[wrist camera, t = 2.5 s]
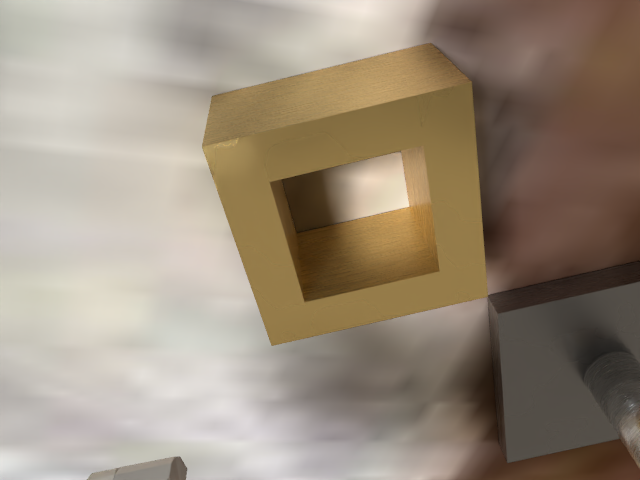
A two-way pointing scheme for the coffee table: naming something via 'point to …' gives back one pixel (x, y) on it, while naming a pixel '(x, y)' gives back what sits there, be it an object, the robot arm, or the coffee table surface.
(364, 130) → the wooden square frame
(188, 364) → the coffee table surface
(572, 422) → the post
